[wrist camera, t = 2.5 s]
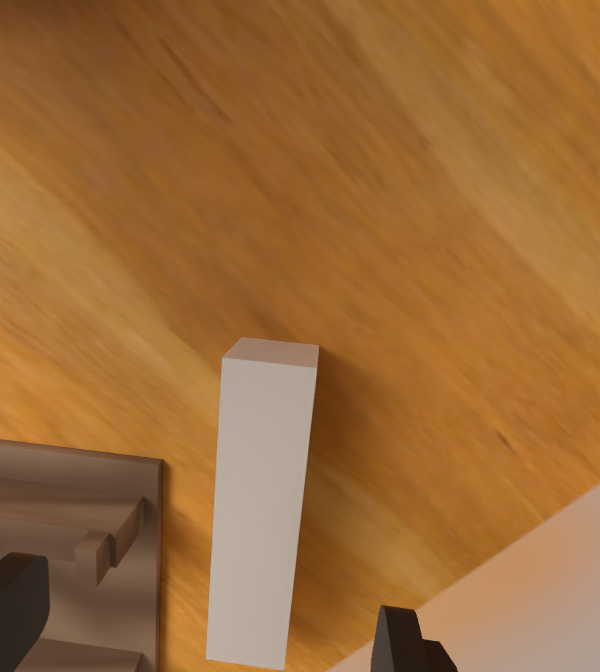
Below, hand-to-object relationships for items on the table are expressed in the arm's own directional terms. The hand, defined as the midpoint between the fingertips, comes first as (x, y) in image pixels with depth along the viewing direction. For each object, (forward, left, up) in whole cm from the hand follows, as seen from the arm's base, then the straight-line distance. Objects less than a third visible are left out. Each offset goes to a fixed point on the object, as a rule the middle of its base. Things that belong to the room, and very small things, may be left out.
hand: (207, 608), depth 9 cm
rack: (+12, -11, -12) cm, 20 cm away
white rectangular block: (+4, 0, -12) cm, 13 cm away
